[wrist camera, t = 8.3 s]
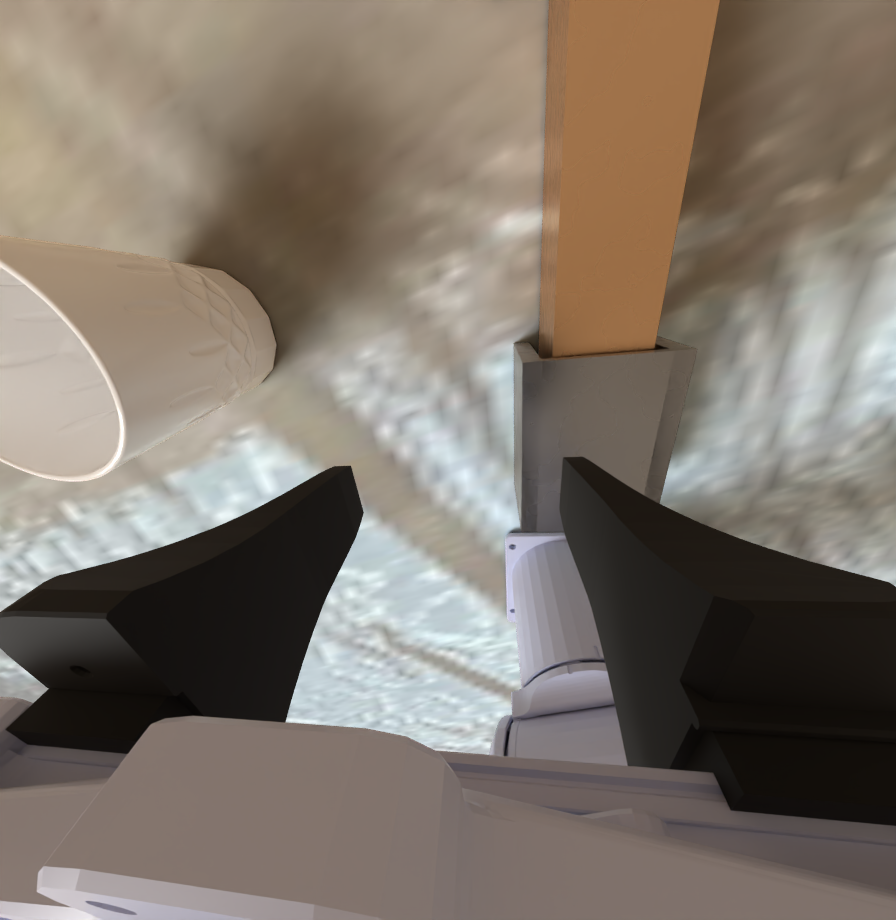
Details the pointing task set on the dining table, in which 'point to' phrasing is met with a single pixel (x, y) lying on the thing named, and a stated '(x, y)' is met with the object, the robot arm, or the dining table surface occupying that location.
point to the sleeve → (595, 421)
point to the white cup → (116, 353)
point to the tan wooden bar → (616, 165)
